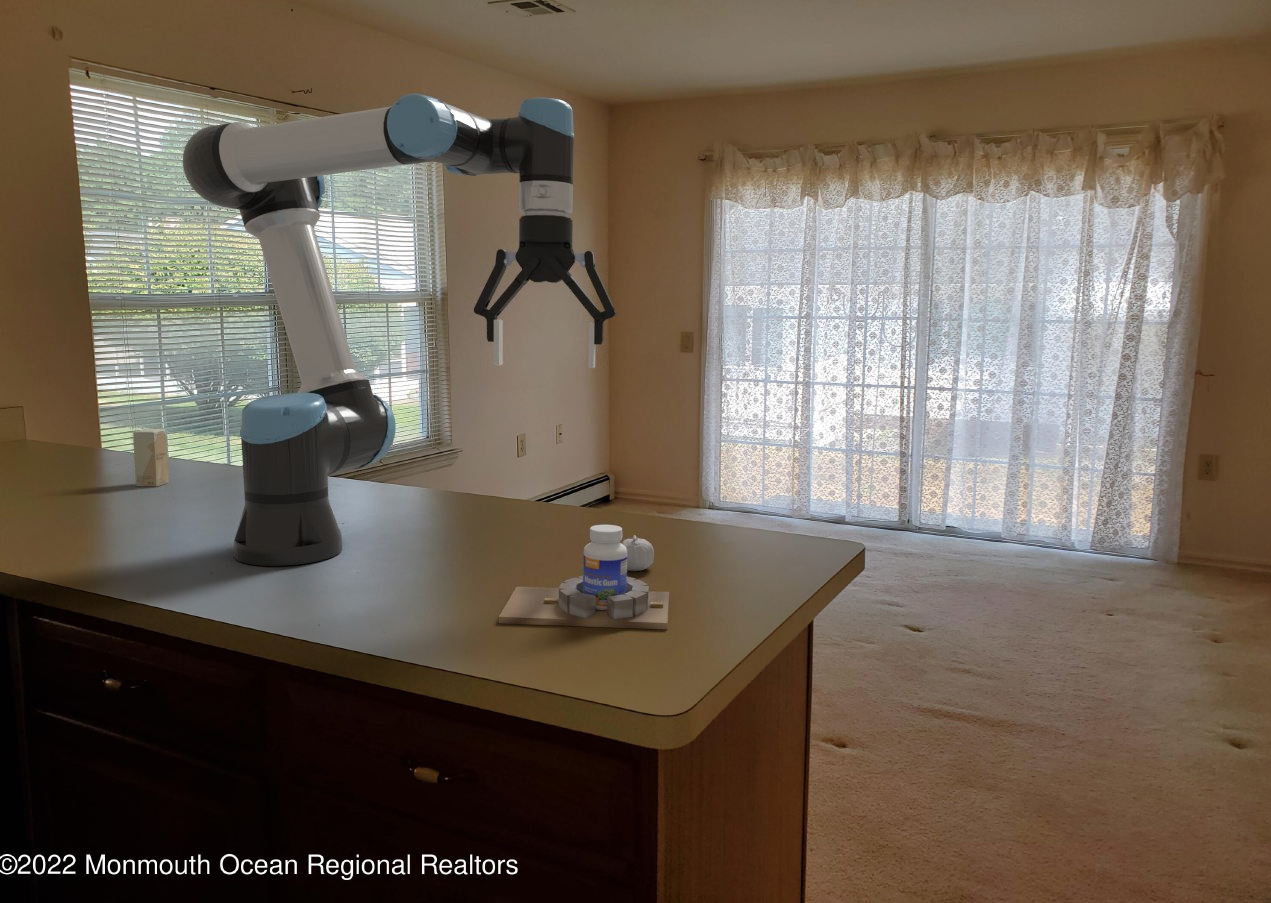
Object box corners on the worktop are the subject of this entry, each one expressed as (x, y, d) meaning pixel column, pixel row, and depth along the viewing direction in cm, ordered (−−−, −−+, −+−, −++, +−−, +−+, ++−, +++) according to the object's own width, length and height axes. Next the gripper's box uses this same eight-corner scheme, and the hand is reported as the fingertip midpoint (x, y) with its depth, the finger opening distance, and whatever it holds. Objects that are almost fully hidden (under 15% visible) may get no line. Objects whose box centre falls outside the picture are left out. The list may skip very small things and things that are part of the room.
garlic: (640, 577, 129) (641, 541, 129) (608, 570, 132) (609, 535, 131) (662, 567, 134) (663, 532, 134) (631, 561, 137) (631, 527, 136)
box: (156, 487, 184) (153, 432, 182) (134, 486, 184) (131, 431, 182) (170, 482, 189) (166, 428, 187) (149, 481, 189) (145, 428, 187)
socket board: (498, 622, 109) (498, 598, 109) (516, 592, 121) (516, 570, 121) (667, 629, 108) (667, 604, 108) (668, 597, 120) (669, 575, 120)
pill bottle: (577, 609, 112) (578, 531, 111) (588, 595, 118) (589, 521, 116) (621, 612, 111) (622, 534, 110) (630, 599, 117) (631, 524, 115)
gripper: (452, 211, 127) (453, 365, 130) (632, 214, 126) (629, 370, 129) (465, 216, 134) (465, 362, 138) (635, 219, 133) (632, 367, 136)
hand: (544, 366), depth 133 cm, fingers open, 13 cm apart
